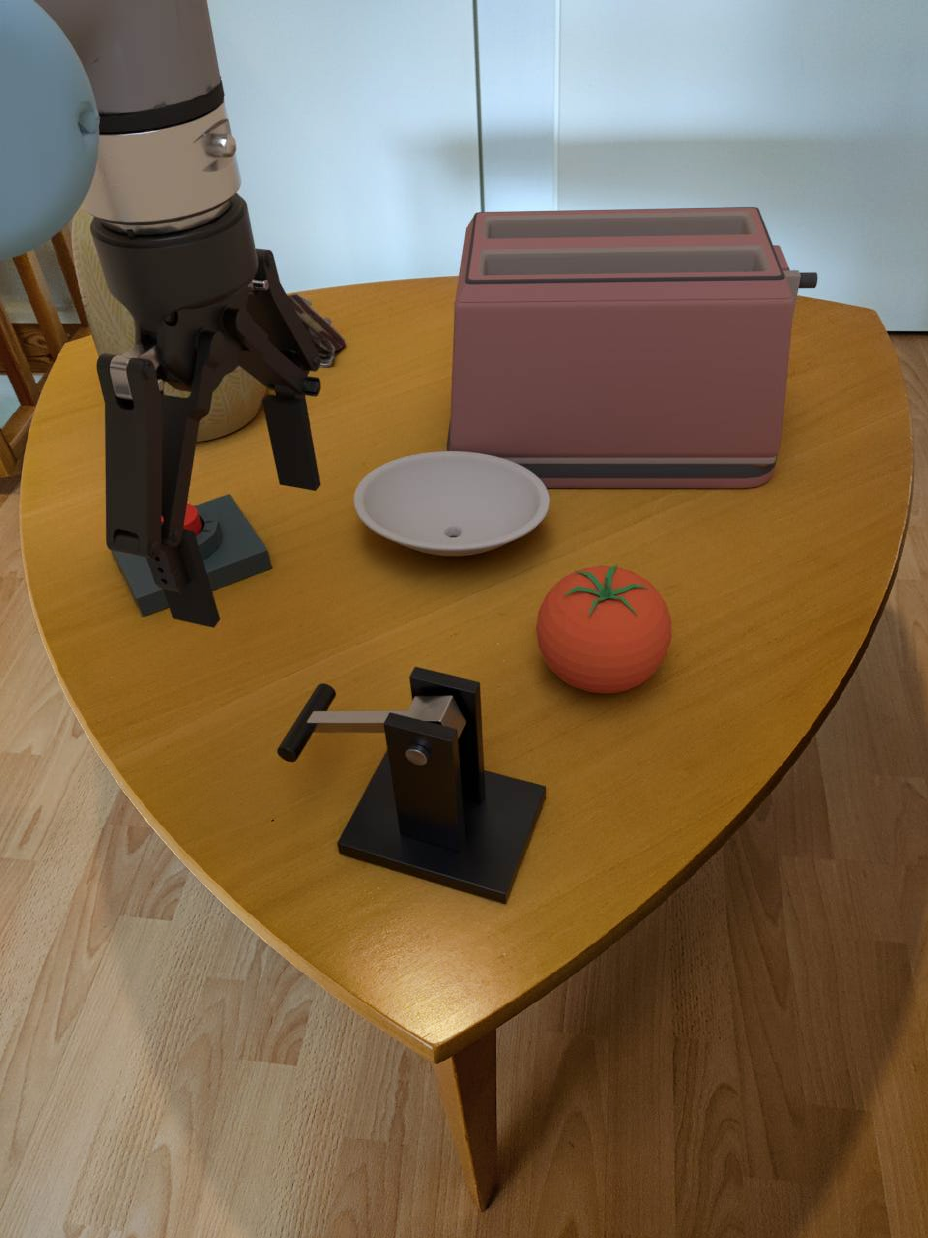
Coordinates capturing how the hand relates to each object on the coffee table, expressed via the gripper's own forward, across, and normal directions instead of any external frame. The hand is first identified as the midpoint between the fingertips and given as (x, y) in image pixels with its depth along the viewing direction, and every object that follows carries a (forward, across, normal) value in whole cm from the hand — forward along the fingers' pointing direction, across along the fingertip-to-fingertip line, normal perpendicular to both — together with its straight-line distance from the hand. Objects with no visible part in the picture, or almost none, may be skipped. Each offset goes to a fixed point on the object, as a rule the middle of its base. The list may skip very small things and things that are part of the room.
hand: (252, 547), depth 62 cm
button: (+15, +16, +19) cm, 29 cm away
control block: (+19, +16, +19) cm, 31 cm away
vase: (+19, +39, +32) cm, 54 cm away
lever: (+11, -4, -9) cm, 14 cm away
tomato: (+19, +14, -20) cm, 31 cm away
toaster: (+19, +47, -14) cm, 52 cm away
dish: (+19, +26, -3) cm, 32 cm away
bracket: (+19, -4, -13) cm, 23 cm away
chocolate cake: (+19, +56, +26) cm, 65 cm away
